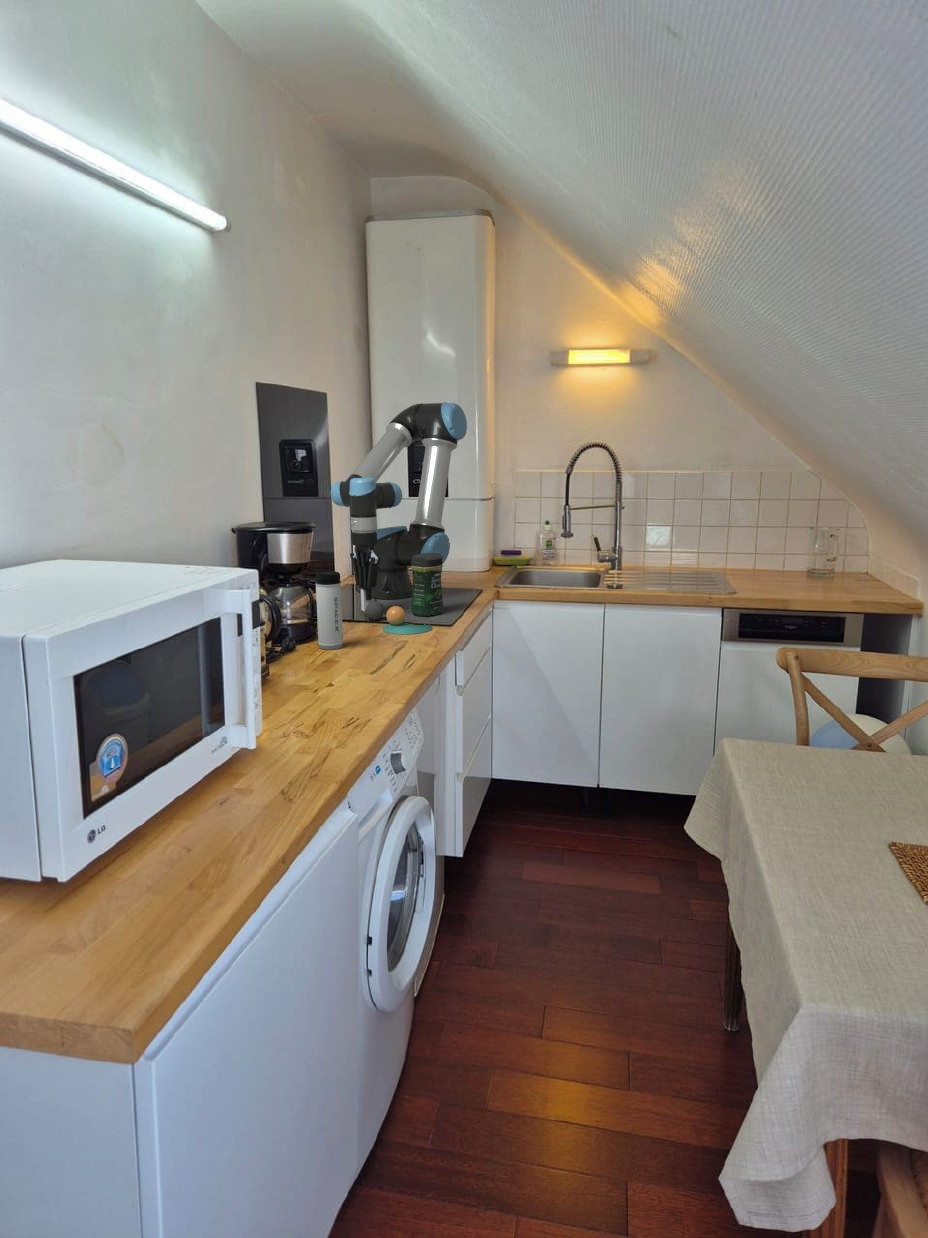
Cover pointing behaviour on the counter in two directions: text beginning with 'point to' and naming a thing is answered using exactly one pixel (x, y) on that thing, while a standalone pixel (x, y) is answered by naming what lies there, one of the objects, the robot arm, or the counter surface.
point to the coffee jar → (427, 584)
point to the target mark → (406, 628)
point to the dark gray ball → (374, 610)
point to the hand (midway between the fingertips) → (366, 610)
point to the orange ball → (395, 615)
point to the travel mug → (329, 609)
